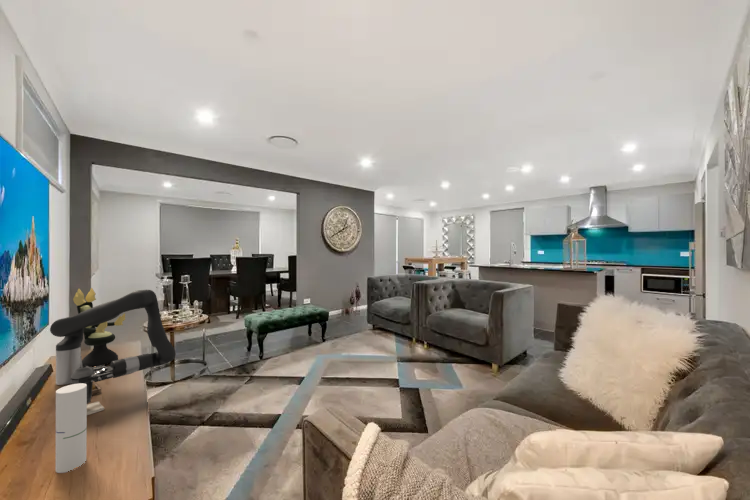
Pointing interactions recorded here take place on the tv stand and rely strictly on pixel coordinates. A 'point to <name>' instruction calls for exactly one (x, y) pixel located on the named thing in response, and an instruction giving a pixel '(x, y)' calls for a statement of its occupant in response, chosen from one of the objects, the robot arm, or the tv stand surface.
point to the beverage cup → (81, 373)
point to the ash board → (94, 408)
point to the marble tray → (95, 389)
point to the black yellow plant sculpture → (96, 333)
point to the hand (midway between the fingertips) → (76, 379)
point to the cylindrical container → (71, 427)
